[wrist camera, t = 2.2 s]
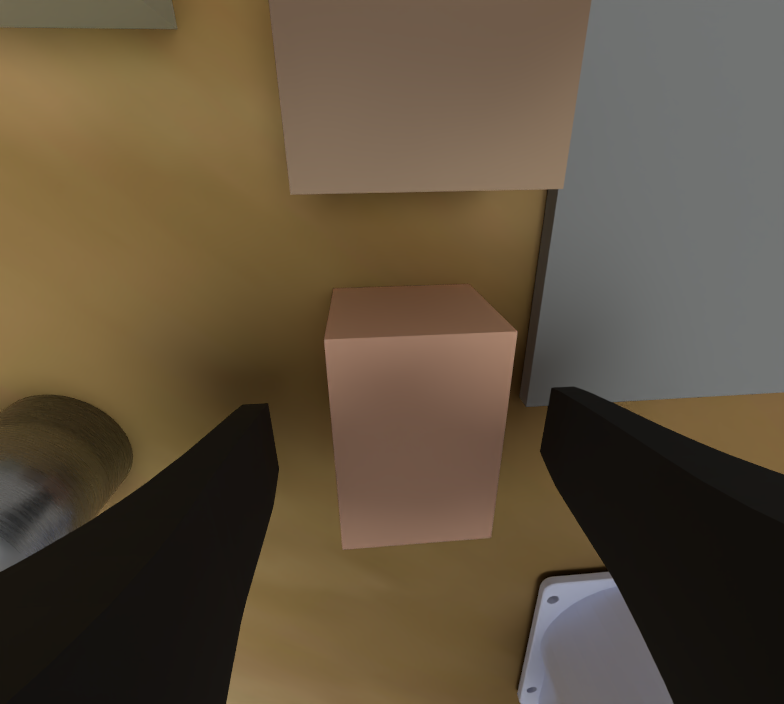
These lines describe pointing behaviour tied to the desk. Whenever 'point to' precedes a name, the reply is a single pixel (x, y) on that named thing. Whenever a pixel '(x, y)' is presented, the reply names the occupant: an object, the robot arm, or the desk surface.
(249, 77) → the desk surface
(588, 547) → the desk surface
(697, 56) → the desk mat
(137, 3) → the square sage brick
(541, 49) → the walnut cube
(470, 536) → the terracotta brick
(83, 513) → the metal cylinder
